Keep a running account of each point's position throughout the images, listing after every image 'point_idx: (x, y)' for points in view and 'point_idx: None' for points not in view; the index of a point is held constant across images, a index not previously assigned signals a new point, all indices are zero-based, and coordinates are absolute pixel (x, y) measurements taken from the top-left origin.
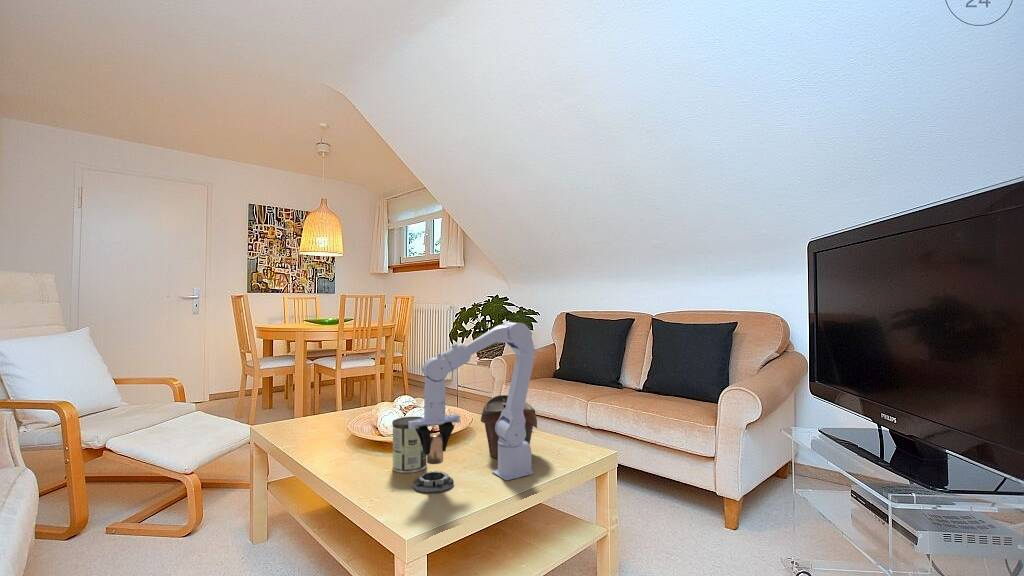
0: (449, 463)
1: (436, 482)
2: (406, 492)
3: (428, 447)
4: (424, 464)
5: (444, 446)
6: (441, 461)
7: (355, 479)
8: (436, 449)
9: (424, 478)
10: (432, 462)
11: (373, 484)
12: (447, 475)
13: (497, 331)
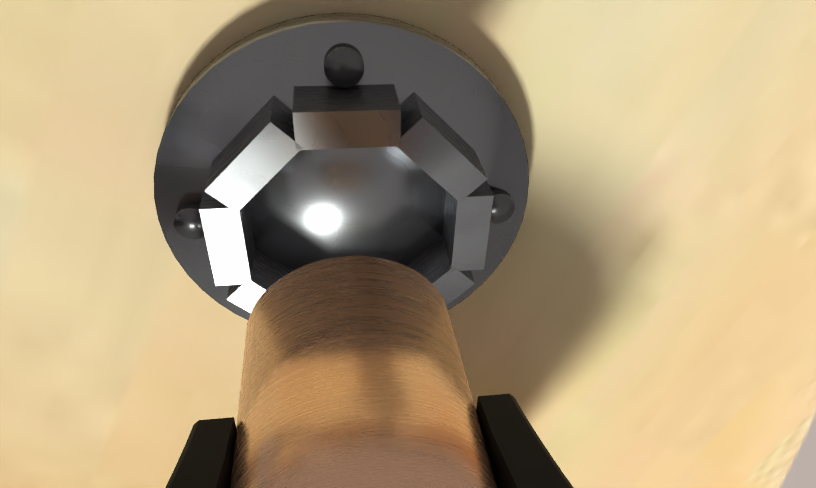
0: (82, 474)
1: (385, 105)
2: (593, 172)
3: (525, 482)
4: None
5: (210, 481)
6: (298, 279)
7: (683, 454)
8: (401, 419)
9: None
10: (426, 288)
11: (662, 372)
12: (214, 198)
13: None
